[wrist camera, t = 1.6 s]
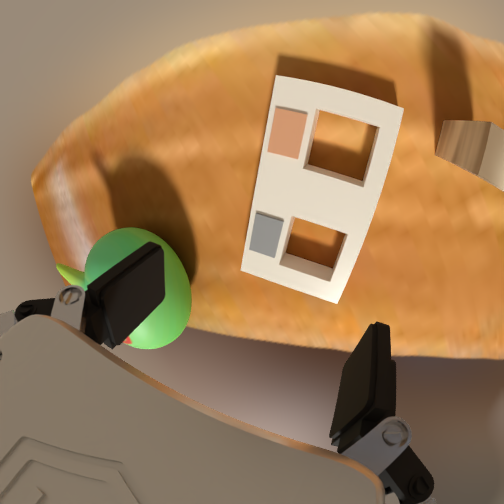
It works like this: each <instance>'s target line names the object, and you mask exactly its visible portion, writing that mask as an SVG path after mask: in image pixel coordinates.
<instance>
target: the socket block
mask: <svg viewBox="0 0 504 504" xmlns="http://www.w3.org/2000/svg"><path fill="white" fill-rule="evenodd" d="M320 110H322V111H326V112H329V113H333V114H337V115H340V116H344V117H347V118H351V119H354V120H357V121H361V122H364V123H367V124H370V125H373V126H376V127H377V129H376V133H375V137H374V141H373V145H372V149H371V153H370V156H369V160H368V164H367V167H366V171H365V174H364V178H363V181H361V180H358V179H355V178H352V177H349V176H345V175H342V174H339V173H336V172H333V171H330V170H326V169H323V168H319V167H316V166H313V165H309V164H308V161H309V157H310V152H311V148H312V143H313V139H314V134H315V130H316V125H317V121H318V116H319V111H320ZM403 110H404V109H403V108H401V107H398V106H395V105H393V104H390V103H387V102H384V101H381V100H378V99H375V98H372V97H369V96H366V95H363V94H359V93H356V92H352V91H349V90H345V89H341V88H338V87H334V86H330V85H325V84H321V83H316V82H312V81H307V80H302V79H296V78H291V77H285V76H278V75H276V78H275V84H274V89H273V94H272V99H271V105H270V110H269V115H268V121H267V126H266V132H265V137H264V142H263V148H262V153H261V159H260V164H259V170H258V175H257V181H256V186H255V192H254V198H253V203H252V209H251V214H250V220H249V226H248V231H247V237H246V243H245V249H244V254H243V260H242V266H241V271H244V272H247V273H249V274H252V275H255V276H258V277H261V278H264V279H266V280H269V281H272V282H275V283H278V284H281V285H283V286H286V287H289V288H292V289H295V290H298V291H301V292H304V293H307V294H309V295H312V296H315V297H318V298H321V299H324V300H327V301H330V302H333V303H336V304H337V303H338V301H339V299H340V296H341V294H342V292H343V290H344V288H345V285H346V283H347V281H348V278H349V276H350V274H351V271H352V269H353V267H354V264H355V262H356V259H357V257H358V254H359V252H360V249H361V247H362V244H363V242H364V239H365V236H366V234H367V231H368V228H369V226H370V223H371V220H372V217H373V214H374V212H375V209H376V206H377V203H378V200H379V197H380V194H381V191H382V188H383V185H384V181H385V178H386V175H387V172H388V168H389V165H390V161H391V158H392V154H393V151H394V147H395V143H396V139H397V135H398V131H399V127H400V123H401V119H402V115H403ZM295 217H297V218H300V219H303V220H307V221H310V222H313V223H316V224H319V225H322V226H325V227H328V228H331V229H334V230H337V231H340V232H343V233H346V234H345V237H344V239H343V242H342V245H341V248H340V251H339V253H338V256H337V259H336V261H335V264H334V267H333V268H330V267H327V266H324V265H321V264H318V263H315V262H312V261H309V260H306V259H303V258H300V257H297V256H294V255H291V254H288V253H286V249H287V246H288V242H289V238H290V234H291V230H292V226H293V222H294V218H295Z"/></svg>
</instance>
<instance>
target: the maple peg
mask: <svg viewBox="0 0 504 504" xmlns="http://www.w3.org/2000/svg"><path fill="white" fill-rule="evenodd" d="M435 155H436V156H438V157H440V158H442V159H444V160H446V161H449V162H451V163H453V164H455V165H457V166H458V167H460V168H462V169H464V170H466V171H468V172H470V173H472V174H474V175H476V176H478V177H479V178H481V179H483V180H485V181H487V182H488V183H490V184H492V185H493V186H495V187H497V188H499V189H500V190H502V191H503V192H504V130H503V129H501V128H500V127H498V126H497V125H495V124H494V123H492V122H484V121H465V120H444V121H443V125H442V129H441V134H440V138H439V142H438V145H437V149H436V153H435Z"/></svg>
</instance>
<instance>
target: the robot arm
mask: <svg viewBox="0 0 504 504" xmlns="http://www.w3.org/2000/svg"><path fill="white" fill-rule="evenodd" d="M164 298H165V270H164V250H163V249H162V247H161V245H159V244H156V243H154V242H151V241H149V242H147V243H146V244H144V245H143V246H141V247H140V248H138V249H137V250H135V251H134V252H133V253H131V254H130V255H128V256H127V257H125V258H124V259H123V260H121V261H120V262H118V263H117V264H116V265H114V266H113V267H111V268H110V269H109V270H107V271H106V272H105V273H103V274H102V275H101V276H99V277H98V278H97V279H95V280H94V281H93V282H91V283H90V284H89V285H87V290H86V291H84V289H83V288H82V287H81V286H78V285H69V286H66V287H64V288H62V289H61V290H60V291H59V292H58V293H57V295H56V298H50V299H38V300H29V301H25V302H23V303H22V304H20V305H19V306H18V307H17V309H16V311H15V312H14V310H11V311H8V312H6V313H3V314H0V504H436V500H435V498H433V499H432V498H431V494H432V491H433V489H434V480H433V477H432V475H431V474H430V473H429V471H428V470H427V469H426V467H425V466H424V465H423V463H422V462H421V461H420V459H419V458H418V457H417V456H416V454H415V453H414V452H413V450H412V449H411V448H410V446H409V443H410V441H411V429H410V427H409V425H408V424H407V423H406V421H404V420H403V419H401V418H399V417H395V411H396V410H395V409H396V362H395V361H394V360H391V342H390V326H389V325H386V324H383V323H380V322H376V323H375V324H370V325H369V327H368V329H367V330H366V332H365V333H364V335H363V337H362V338H361V340H360V342H359V343H358V345H357V346H356V348H355V349H354V351H353V352H352V354H351V355H350V357H349V358H348V360H347V361H346V363H345V365H344V367H343V371H342V377H341V382H340V387H339V393H338V399H337V403H336V408H335V412H334V418H333V421H332V426H331V430H330V434H329V437H330V438H333V439H332V443H331V445H334V446H338V449H337V452H338V453H339V454H338V453H335V452H333V451H329V450H326V449H323V448H319V447H316V446H313V445H309V444H306V443H303V442H299V441H296V440H293V439H290V438H286V437H283V436H281V435H278V434H275V433H272V432H269V431H266V430H263V429H260V428H258V427H255V426H252V425H250V424H247V423H244V422H241V421H239V420H237V419H234V418H232V417H230V416H227V415H225V414H223V413H220V412H218V411H216V410H214V409H211V408H209V407H207V406H205V405H203V404H200V403H198V402H196V401H194V400H192V399H190V398H188V397H186V396H184V395H182V394H180V393H178V392H176V391H175V390H173V389H171V388H169V387H167V386H165V385H163V384H162V383H160V382H158V381H156V380H155V379H153V378H151V377H149V376H147V375H146V374H144V373H142V372H141V371H139V370H137V369H136V368H134V367H133V366H131V365H129V364H128V363H126V362H125V361H123V360H121V359H120V358H118V357H117V356H115V355H114V354H112V353H111V352H109V351H108V350H106V349H105V348H104V347H102V346H101V344H102V343H103V342H104V344H106V345H107V346H108V347H110V348H111V349H113V348H114V347H115V346H116V345H120V344H121V343H122V342H123V341H124V340H125V339H126V338H127V337H128V336H129V335H130V334H131V333H132V332H133V331H134V330H135V329H136V328H137V327H138V326H139V325H140V324H141V323H142V322H143V321H144V320H145V319H146V318H147V317H148V316H149V315H150V314H151V313H152V312H153V311H154V310H155V309H156V308H157V307H158V306H159V305H160V304H161V303H162V302H163V300H164Z"/></svg>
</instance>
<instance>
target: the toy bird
mask: <svg viewBox="0 0 504 504" xmlns="http://www.w3.org/2000/svg"><path fill="white" fill-rule="evenodd" d="M149 241H151V242H154V243H156V244H159V245H161V247H162V249H163V250H164V270H165V298H164V300H163V302H162V303H161V304H160V305H159V306H158V307H157V308H156V309H155V310H154V311H153V312H152V313H151V314H150V315H149V316H148V317H147V318H146V319H145V320H144V321H143V322H142V323H141V324H140V325H139V326H138V327H137V328H136V329H135V330H134V331H133V332H132V333H131V334H130V335H129V336H128V337H127V338H126V339H125V340H124V341H123V343H125V344H127V345H130V346H132V347H135V348H141V349H154V348H159V347H162V346H165V345H167V344H169V343H171V342H172V341H174V340H175V339H176V338H177V337H178V336H179V335H180V334H181V333H182V331H183V330H184V328H185V327H186V325H187V322H188V320H189V316H190V312H191V303H192V298H191V288H190V283H189V279H188V276H187V273H186V271H185V269H184V267H183V265H182V263H181V261H180V259H179V258H178V256H177V255H176V253H175V252H174V251H173V249H172V248H171V247H170V246H169V245H168V244H167V243H166V242H165V241H164V240H163V239H161V238H160V237H159V236H157V235H155V234H154V233H152V232H150V231H147V230H144V229H140V228H133V227H127V228H120V229H117V230H114V231H111V232H109V233H107V234H106V235H104V236H103V237H102V238H100V239H99V240H98V241H97V242H96V243H95V245H94V246H93V247H92V249H91V251H90V253H89V255H88V257H87V260H86V264H85V272H82V271H79V270H76V269H73V268H71V267H69V266H66V265H63V264H60V263H57V264H56V267H57V269H58V271H59V272H60V273H61V275H62V276H63V277H64V278H65V279H66V280H67V281H68V282H69V283H71V284H72V285H78V286H81V287H82V288H83V289H84V291H86V290H87V285H89V284H90V283H91V282H93V281H94V280H95V279H97V278H98V277H99V276H101V275H102V274H103V273H105V272H106V271H107V270H109V269H110V268H111V267H113V266H114V265H116V264H117V263H118V262H120V261H121V260H123V259H124V258H125V257H127V256H128V255H130V254H131V253H133V252H134V251H135V250H137V249H138V248H140V247H141V246H143V245H144V244H146V243H147V242H149Z"/></svg>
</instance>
